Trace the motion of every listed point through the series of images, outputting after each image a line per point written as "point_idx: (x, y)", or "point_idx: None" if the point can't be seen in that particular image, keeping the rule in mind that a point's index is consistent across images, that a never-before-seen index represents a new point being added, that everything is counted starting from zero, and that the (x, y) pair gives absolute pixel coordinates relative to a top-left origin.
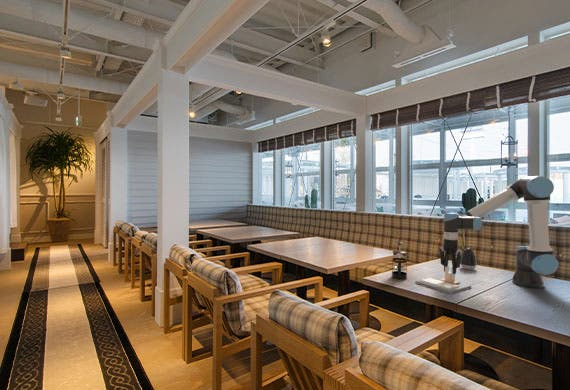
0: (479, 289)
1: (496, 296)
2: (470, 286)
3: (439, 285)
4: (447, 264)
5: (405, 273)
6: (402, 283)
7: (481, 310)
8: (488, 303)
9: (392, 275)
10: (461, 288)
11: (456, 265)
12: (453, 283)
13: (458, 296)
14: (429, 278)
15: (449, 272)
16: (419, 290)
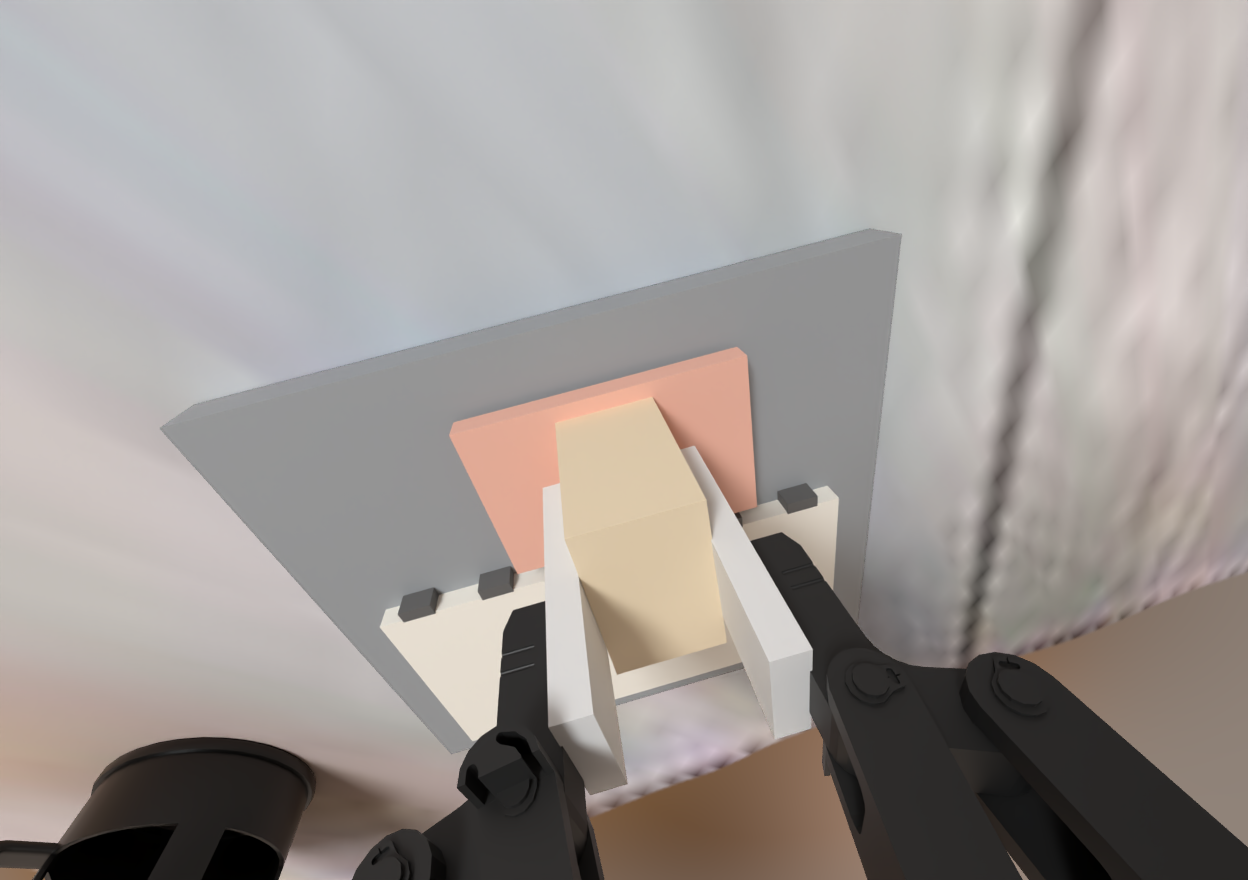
0: (984, 134)
1: (1242, 194)
2: (889, 260)
3: (713, 669)
4: (568, 828)
5: (148, 810)
6: (438, 797)
7: (1122, 610)
8: (1157, 481)
9: (209, 864)
10: (871, 488)
11: (1031, 837)
12: (744, 507)
13: (911, 589)
14: (419, 650)
15: (668, 617)
16: (652, 752)
